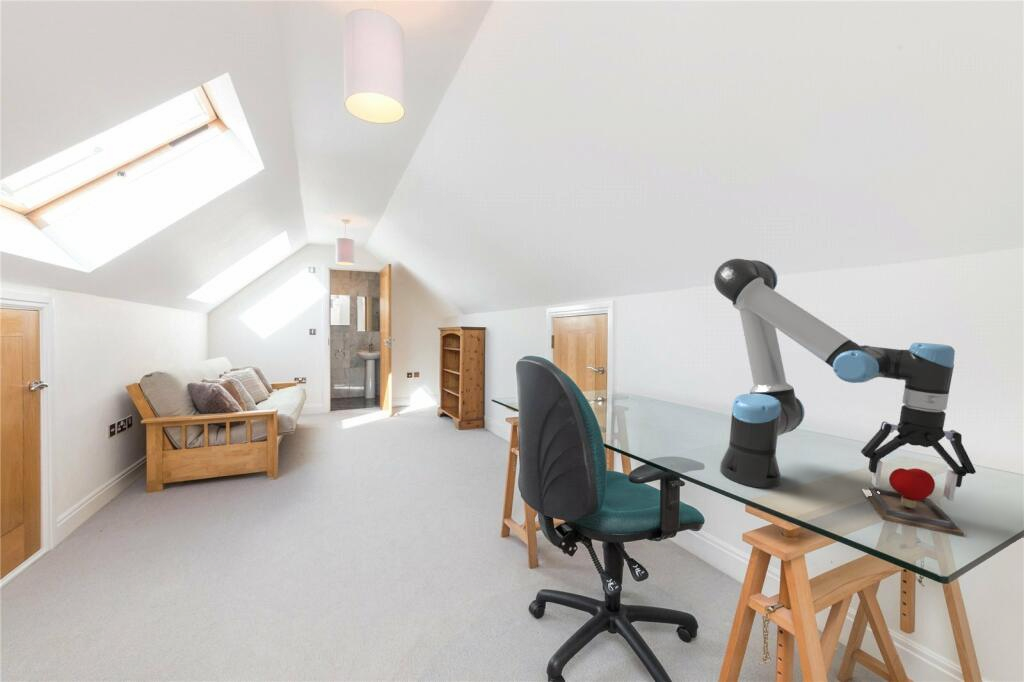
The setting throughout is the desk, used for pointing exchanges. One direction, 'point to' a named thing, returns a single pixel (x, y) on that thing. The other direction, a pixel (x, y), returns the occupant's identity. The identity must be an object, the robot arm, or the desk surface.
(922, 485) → the red heart on stub
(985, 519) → the desk surface
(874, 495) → the dark wooden picture frame
